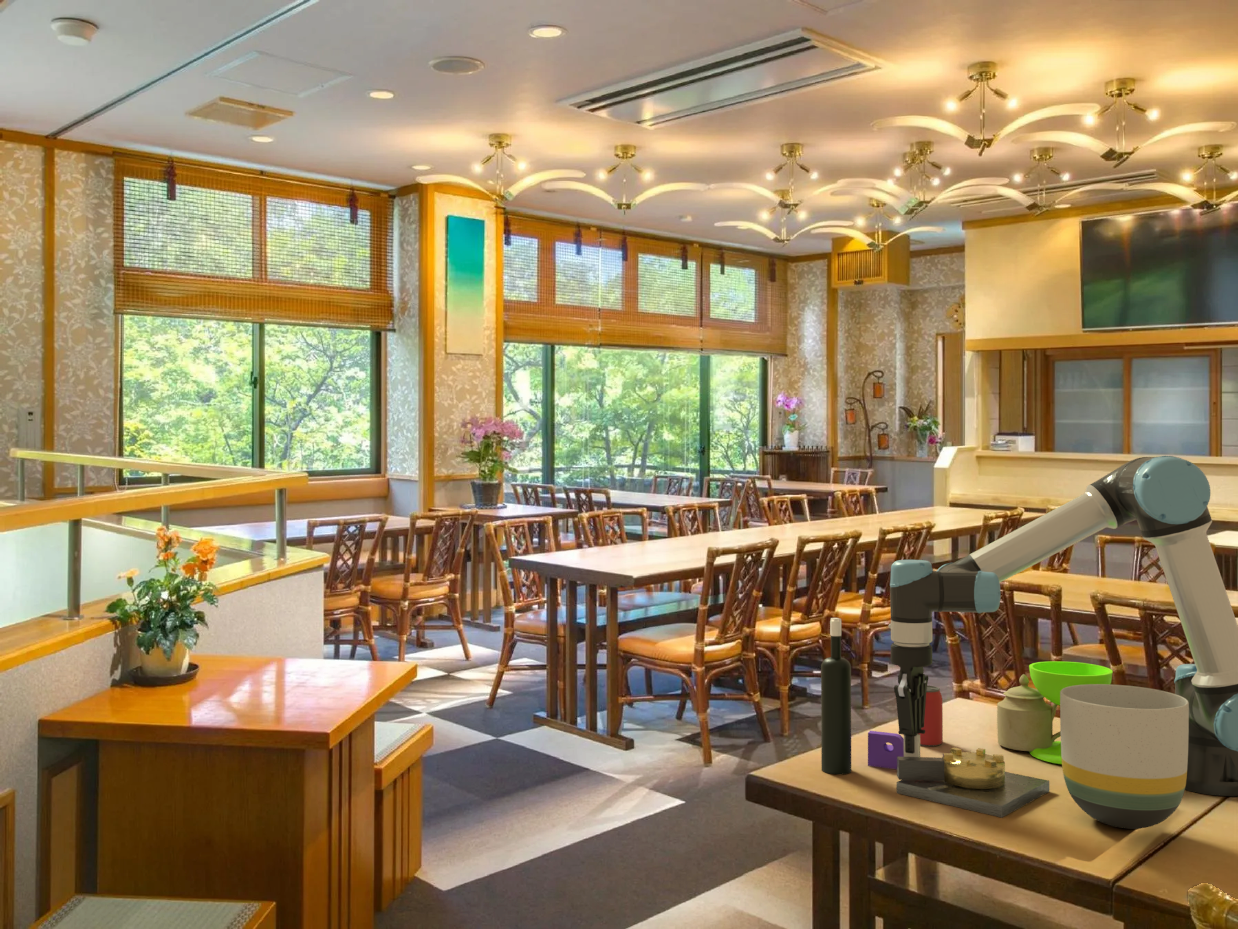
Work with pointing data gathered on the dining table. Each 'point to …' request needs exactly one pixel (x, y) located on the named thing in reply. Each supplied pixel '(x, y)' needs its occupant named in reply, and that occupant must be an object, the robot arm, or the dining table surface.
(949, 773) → the gold tabbed disc
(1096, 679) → the wineglass
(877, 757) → the bracket
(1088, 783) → the planter
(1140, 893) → the dining table surface
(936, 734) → the beer can
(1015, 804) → the plate
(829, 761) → the wine bottle
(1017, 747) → the sugar bowl
